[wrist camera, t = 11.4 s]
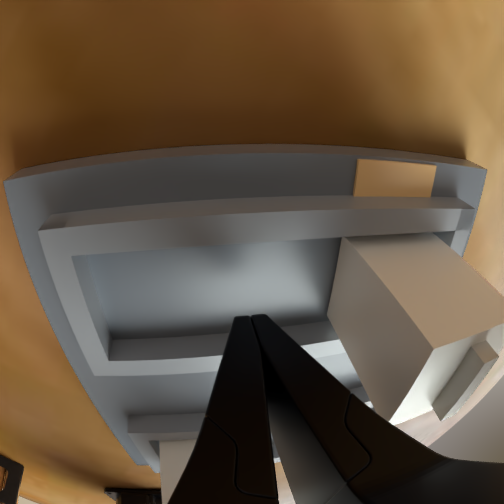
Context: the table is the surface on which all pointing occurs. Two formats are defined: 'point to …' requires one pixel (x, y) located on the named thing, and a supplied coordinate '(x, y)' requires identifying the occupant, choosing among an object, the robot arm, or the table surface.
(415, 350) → the white block
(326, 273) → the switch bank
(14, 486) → the ammunition clip
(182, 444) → the white rectangular block
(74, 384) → the table surface
